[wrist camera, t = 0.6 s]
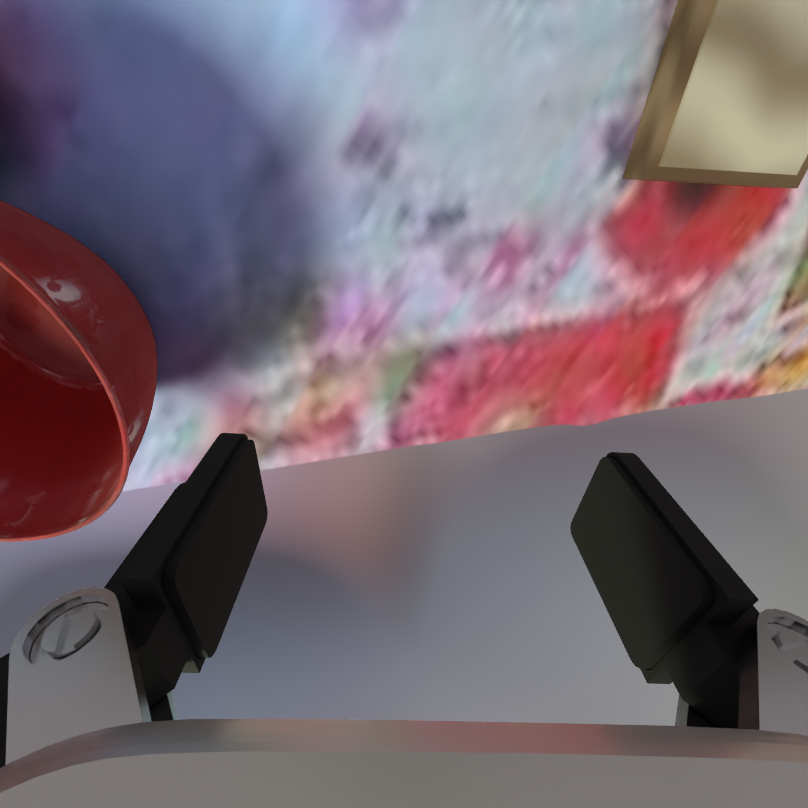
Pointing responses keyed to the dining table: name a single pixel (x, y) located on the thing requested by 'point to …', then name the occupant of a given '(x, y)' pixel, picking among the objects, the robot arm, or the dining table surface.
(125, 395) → the mixing bowl
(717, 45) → the plinth
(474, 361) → the dining table surface
